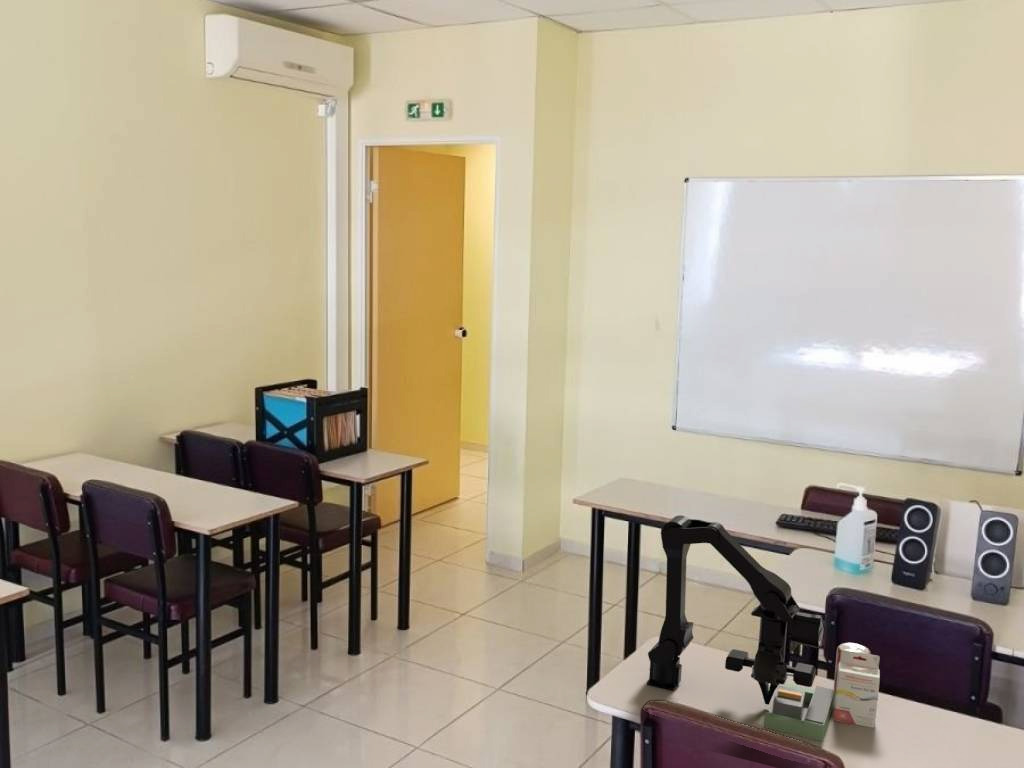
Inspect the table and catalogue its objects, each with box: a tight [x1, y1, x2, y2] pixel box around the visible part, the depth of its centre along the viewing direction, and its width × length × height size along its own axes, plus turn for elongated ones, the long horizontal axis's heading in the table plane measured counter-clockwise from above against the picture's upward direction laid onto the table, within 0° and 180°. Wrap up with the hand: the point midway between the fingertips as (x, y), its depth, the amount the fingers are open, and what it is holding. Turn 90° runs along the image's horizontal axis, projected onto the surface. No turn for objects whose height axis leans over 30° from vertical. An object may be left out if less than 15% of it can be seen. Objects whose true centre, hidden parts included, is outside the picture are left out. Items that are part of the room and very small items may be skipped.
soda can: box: [833, 642, 872, 697], centre depth 220 cm, size 7×7×12 cm
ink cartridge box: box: [833, 650, 881, 729], centre depth 210 cm, size 9×5×15 cm, turn 71°
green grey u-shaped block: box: [763, 683, 835, 742], centre depth 212 cm, size 12×18×4 cm, turn 155°
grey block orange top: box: [771, 686, 806, 720], centre depth 214 cm, size 6×8×4 cm
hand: (767, 703), depth 215 cm, fingers closed
